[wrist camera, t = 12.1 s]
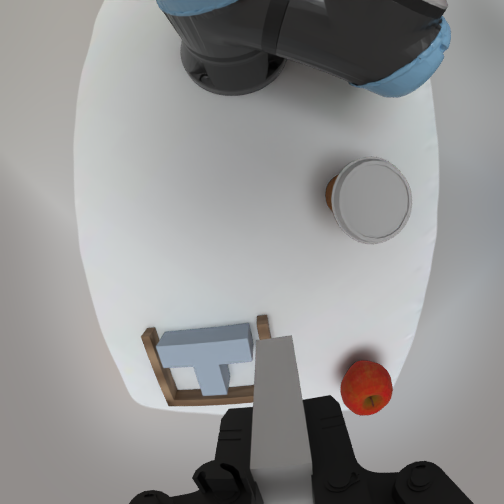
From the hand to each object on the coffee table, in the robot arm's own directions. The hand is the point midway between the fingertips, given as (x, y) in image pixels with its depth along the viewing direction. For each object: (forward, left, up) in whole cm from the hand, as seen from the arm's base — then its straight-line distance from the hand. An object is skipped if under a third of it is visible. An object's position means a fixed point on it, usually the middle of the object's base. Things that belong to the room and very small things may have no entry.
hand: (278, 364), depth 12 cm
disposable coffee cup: (-4, +12, -31) cm, 33 cm away
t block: (+18, -12, -30) cm, 37 cm away
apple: (+25, +12, -31) cm, 41 cm away
